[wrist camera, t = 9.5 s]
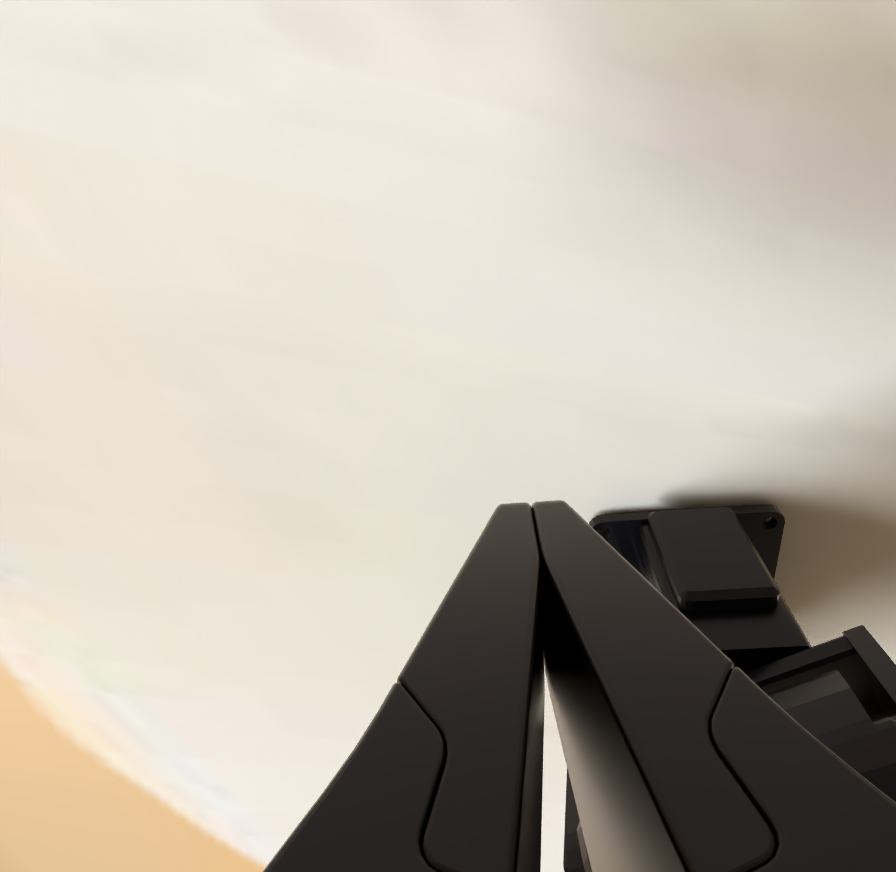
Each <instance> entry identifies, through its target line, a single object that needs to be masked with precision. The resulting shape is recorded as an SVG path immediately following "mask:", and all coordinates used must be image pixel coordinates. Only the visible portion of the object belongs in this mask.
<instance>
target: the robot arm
mask: <svg viewBox="0 0 896 872" xmlns="http://www.w3.org/2000/svg"><path fill="white" fill-rule="evenodd" d="M770 517H772V518H771V519H770V520H769V521H768V522H763V521H764V520H765V519H766V518H770ZM784 524H785V519H784V517H783V515H782V514H781V512H780V511H779V510H778V508H777V507H775V506H773V505H751V506H735V507H711V508H695V509H679V510H663V511H654V512H638V513H622V514H606V515H599V516H596V517H595V518H593V519H592V520H591V521H590V522H589V524H588V523H587V522H586V521H585V520H584V519H583V518H582V517H581V516H580V515H579V514H578V513H576V512H575V511H574V510H573V509H572V508H571V507H570V506H569V505H568V504H567V503H566V502H564V501H561V500H558V501H543V502H535V503H534V504H533V505H532V509H531V506H530V505H529V504H528V503H511V504H500V505H499V506H498V507H497V508H496V510H495V511H494V513H493V515H492V517H491V518H490V520H489V522H488V523H487V525H486V527H485V529H484V530H483V532H482V534H481V536H480V537H479V539H478V541H477V542H476V544H475V546H474V548H473V549H472V551H471V553H470V554H469V556H468V558H467V560H466V561H465V563H464V565H463V567H462V568H461V570H460V572H459V573H458V575H457V577H456V579H455V580H454V582H453V584H452V585H451V587H450V589H449V591H448V592H447V594H446V596H445V598H444V599H443V601H442V603H441V604H440V606H439V608H438V610H437V611H436V613H435V615H434V616H433V618H432V620H431V622H430V623H429V625H428V627H427V629H426V630H425V632H424V634H423V635H422V637H421V639H420V641H419V642H418V644H417V646H416V647H415V649H414V651H413V653H412V654H411V656H410V658H409V660H408V661H407V663H406V665H405V666H404V668H403V670H402V672H401V673H400V675H399V677H398V679H397V683H395V684H394V685H393V686H392V688H391V690H390V692H389V693H388V695H387V697H386V699H385V700H384V702H383V704H382V705H381V707H380V709H379V711H378V712H377V714H376V715H375V717H374V719H373V720H372V722H371V723H370V725H369V727H368V728H367V730H366V731H365V733H364V734H363V736H362V738H361V739H360V741H359V742H358V744H357V746H356V747H355V749H354V750H353V752H352V753H351V754H350V756H349V757H348V759H347V760H346V761H345V763H344V764H343V765H342V767H341V768H340V770H339V771H338V772H337V774H336V775H335V777H334V778H333V779H332V781H331V782H330V783H329V785H328V786H327V788H326V789H325V790H324V792H323V793H322V794H321V796H320V797H319V798H318V800H317V801H316V802H315V804H314V805H313V806H312V808H311V809H310V810H309V812H308V813H307V814H306V816H305V817H304V818H303V819H302V821H301V822H300V823H299V825H298V826H297V827H296V829H295V830H294V831H293V833H292V834H291V835H290V837H289V838H288V839H287V841H286V842H285V843H284V844H283V846H282V847H281V848H280V850H279V851H278V852H277V854H276V855H275V856H274V858H273V859H272V860H271V862H270V863H269V864H268V865H267V867H266V868H265V869H264V871H263V872H540V861H541V819H542V777H543V736H544V665H545V672H546V678H547V683H548V688H549V692H550V697H551V701H552V705H553V709H554V714H555V718H556V722H557V726H558V730H559V735H560V739H561V743H562V747H563V751H564V756H565V760H566V764H567V787H566V812H565V838H564V871H565V872H896V665H895V664H894V662H893V661H892V660H891V659H890V657H889V656H888V655H887V654H886V653H885V651H884V650H883V649H882V648H881V647H880V645H879V644H878V643H877V642H876V640H875V639H874V638H873V637H872V636H871V634H870V633H869V632H868V631H867V630H866V628H865V627H864V626H863V625H861V626H858V627H855V628H852V629H850V630H847V631H844V632H842V633H843V635H844V636H842V637H839V638H836V639H833V640H830V641H828V642H825V643H822V644H819V645H817V646H814V647H811V645H810V643H809V642H808V640H807V638H806V637H805V635H804V633H803V631H802V630H801V628H800V626H799V625H798V623H797V621H796V620H795V618H794V616H793V614H792V613H791V611H790V609H789V608H788V606H787V604H786V603H785V601H784V599H783V597H782V596H781V594H780V590H779V588H778V586H777V584H776V583H775V581H774V575H775V570H776V565H777V560H778V555H779V550H780V544H781V539H782V534H783V529H784ZM601 528H609V529H608V530H607V531H605V532H598V531H599V530H600V529H601Z"/></svg>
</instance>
